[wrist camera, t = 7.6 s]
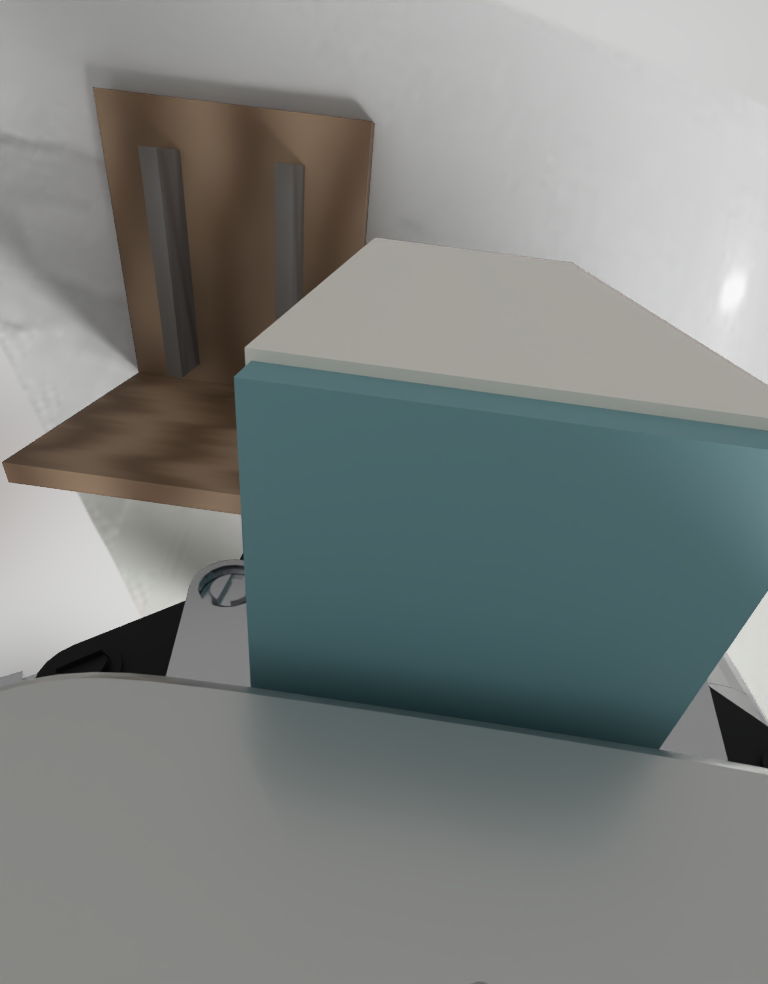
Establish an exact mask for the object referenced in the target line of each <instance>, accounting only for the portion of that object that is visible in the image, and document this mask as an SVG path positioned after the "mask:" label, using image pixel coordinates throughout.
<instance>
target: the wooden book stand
mask: <svg viewBox="0 0 768 984" xmlns="http://www.w3.org/2000/svg"><path fill="white" fill-rule="evenodd" d="M93 91H94V97H95V103H96V109H97V115H98V122H99V128H100V134H101V140H102V147H103V153H104V159H105V165H106V171H107V178H108V184H109V190H110V196H111V202H112V209H113V215H114V221H115V227H116V234H117V240H118V246H119V252H120V258H121V265H122V271H123V277H124V283H125V290H126V296H127V302H128V308H129V314H130V321H131V327H132V333H133V339H134V346H135V352H136V358H137V364H138V370H139V373H137V374H136V375H134V376H133V377H131V378H130V379H128V380H127V381H125V382H124V383H122V384H121V385H119V386H118V387H116V388H114V389H113V390H111V391H110V392H108V393H107V394H105V395H104V396H102V397H101V398H99V399H98V400H96V401H95V402H93V403H92V404H90V405H89V406H87V407H85V408H84V409H82V410H81V411H79V412H78V413H76V414H75V415H73V416H72V417H70V418H69V419H67V420H66V421H64V422H63V423H61V424H60V425H58V426H56V427H55V428H53V429H52V430H50V431H49V432H47V433H46V434H44V435H43V436H42V437H40V438H38V439H37V440H35V441H34V442H32V443H31V444H29V445H28V446H26V447H25V448H23V449H22V450H20V451H18V452H17V453H15V454H14V455H12V456H11V457H9V458H8V459H6V460H5V461H3V462H2V464H3V467H4V470H5V473H6V475H7V478H8V481H9V482H12V483H19V484H26V485H33V486H40V487H47V488H54V489H61V490H69V491H76V492H83V493H90V494H97V495H104V496H111V497H119V498H126V499H133V500H140V501H147V502H154V503H161V504H169V505H176V506H183V507H190V508H197V509H204V510H211V511H219V512H226V513H233V514H240V515H241V500H240V481H239V463H238V445H237V426H236V408H235V390H234V376H235V375H236V374H238V373H239V372H240V371H241V370H242V369H243V368H244V367H245V347H246V346H247V345H248V344H249V343H250V342H252V341H253V340H254V339H255V338H256V337H258V336H259V335H260V334H261V333H262V332H263V331H265V330H266V329H267V328H268V327H269V326H271V325H272V324H273V323H274V322H275V321H276V320H278V319H279V318H280V317H281V316H282V315H284V314H285V313H286V312H287V311H288V310H290V309H291V308H292V307H293V306H294V305H295V304H297V303H298V302H299V301H300V300H301V299H303V298H304V297H305V296H306V295H307V294H309V293H310V292H311V291H312V290H313V289H314V288H316V287H317V286H318V285H319V284H320V283H322V282H323V281H324V280H325V279H326V278H327V277H329V276H330V275H331V274H332V273H333V272H335V271H336V270H337V269H338V268H339V267H341V266H342V265H343V264H344V263H345V262H346V261H348V260H349V259H350V258H351V257H352V256H354V255H355V254H356V253H357V252H358V251H360V250H361V249H362V248H363V247H364V246H365V243H366V230H367V216H368V203H369V190H370V177H371V164H372V151H373V138H374V125H375V123H373V122H372V121H366V120H358V119H349V118H341V117H333V116H325V115H317V114H308V113H300V112H292V111H284V110H276V109H267V108H259V107H251V106H243V105H235V104H226V103H218V102H210V101H202V100H194V99H185V98H177V97H169V96H161V95H153V94H144V93H136V92H128V91H120V90H112V89H103V88H95V87H93Z"/></svg>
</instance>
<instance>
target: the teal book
mask: <svg viewBox="0 0 768 984" xmlns="http://www.w3.org/2000/svg"><path fill="white" fill-rule="evenodd" d="M234 390H235V408H236V426H237V445H238V463H239V481H240V500H241V518H242V536H243V555H244V573H245V591H246V610H247V628H248V646H249V665H250V683H251V687H253V688H260V689H267V690H274V691H281V692H287V693H294V694H301V695H308V696H315V697H321V698H328V699H335V700H342V701H349V702H355V703H362V704H369V705H376V706H383V707H389V708H396V709H402V710H409V711H415V712H422V713H429V714H435V715H442V716H448V717H455V718H462V719H468V720H475V721H481V722H488V723H494V724H501V725H507V726H514V727H520V728H527V729H533V730H540V731H546V732H552V733H559V734H565V735H571V736H578V737H584V738H590V739H597V740H603V741H609V742H616V743H622V744H628V745H634V746H641V747H647V748H653V749H660V747H661V746H662V744H663V743H664V741H665V740H666V739H667V737H668V736H669V734H670V733H671V731H672V730H673V728H674V727H675V725H676V724H677V722H678V721H679V720H680V718H681V717H682V715H683V714H684V712H685V711H686V709H687V708H688V706H689V705H690V703H691V702H692V701H693V699H694V698H695V696H696V695H697V693H698V692H699V690H700V689H701V687H702V686H703V684H704V683H705V682H706V680H707V679H708V677H709V676H710V674H711V673H712V671H713V670H714V668H715V667H716V666H717V664H718V663H719V661H720V660H721V658H722V657H723V655H724V654H725V652H726V651H727V649H728V648H729V647H730V645H731V644H732V642H733V641H734V639H735V638H736V636H737V635H738V633H739V632H740V630H741V629H742V628H743V626H744V625H745V623H746V622H747V620H748V619H749V617H750V616H751V614H752V613H753V611H754V610H755V609H756V607H757V606H758V604H759V603H760V601H761V600H762V598H763V597H764V595H765V594H766V592H767V591H768V385H767V384H765V383H763V382H762V381H760V380H759V379H757V378H755V377H754V376H752V375H751V374H749V373H748V372H746V371H744V370H743V369H741V368H740V367H738V366H736V365H735V364H733V363H732V362H730V361H728V360H727V359H725V358H724V357H722V356H720V355H719V354H717V353H716V352H714V351H712V350H711V349H709V348H708V347H706V346H704V345H703V344H701V343H700V342H698V341H697V340H695V339H693V338H692V337H690V336H689V335H687V334H685V333H684V332H682V331H681V330H679V329H677V328H676V327H674V326H673V325H671V324H669V323H668V322H666V321H665V320H663V319H661V318H660V317H658V316H657V315H655V314H653V313H652V312H650V311H649V310H647V309H646V308H644V307H642V306H641V305H639V304H638V303H636V302H634V301H633V300H631V299H630V298H628V297H626V296H625V295H623V294H622V293H620V292H618V291H617V290H615V289H614V288H612V287H610V286H609V285H607V284H606V283H604V282H602V281H601V280H599V279H598V278H596V277H595V276H593V275H591V274H590V273H588V272H587V271H585V270H583V269H582V268H580V267H579V266H577V265H575V264H574V263H572V262H564V261H556V260H548V259H540V258H533V257H525V256H517V255H509V254H501V253H493V252H486V251H478V250H470V249H462V248H454V247H446V246H439V245H431V244H423V243H415V242H407V241H399V240H392V239H384V238H376V237H375V238H374V239H373V240H371V241H370V242H369V243H368V244H367V245H365V246H364V247H363V248H362V249H361V250H360V251H358V252H357V253H356V254H355V255H354V256H352V257H351V258H350V259H349V260H348V261H346V262H345V263H344V264H343V265H342V266H341V267H339V268H338V269H337V270H336V271H335V272H333V273H332V274H331V275H330V276H329V277H327V278H326V279H325V280H324V281H323V282H322V283H320V284H319V285H318V286H317V287H316V288H314V289H313V290H312V291H311V292H310V293H309V294H307V295H306V296H305V297H304V298H303V299H301V300H300V301H299V302H298V303H297V304H295V305H294V306H293V307H292V308H291V309H290V310H288V311H287V312H286V313H285V314H284V315H282V316H281V317H280V318H279V319H278V320H276V321H275V322H274V323H273V324H272V325H271V326H269V327H268V328H267V329H266V330H265V331H263V332H262V333H261V334H260V335H259V336H258V337H256V338H255V339H254V340H253V341H252V342H250V343H249V344H248V345H247V346H246V347H245V367H244V368H243V369H242V370H241V371H240V372H239V373H238V374H236V375H235V376H234Z"/></svg>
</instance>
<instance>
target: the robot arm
mask: <svg viewBox="0 0 768 984" xmlns="http://www.w3.org/2000/svg"><path fill="white" fill-rule="evenodd" d="M0 984H768V719H767V717H766V716H765V714H764V712H763V711H762V709H761V708H760V706H759V705H758V703H757V701H756V700H755V698H754V696H753V695H752V693H751V692H750V690H749V688H748V687H747V685H746V683H745V682H744V680H743V678H742V677H741V675H740V673H739V672H738V670H737V668H736V667H735V665H734V663H733V662H732V660H731V658H730V657H729V655H728V653H727V652H725V654H724V655H723V657H722V658H721V660H720V661H719V663H718V664H717V666H716V667H715V668H714V670H713V671H712V673H711V674H710V676H709V677H708V679H707V680H706V682H705V683H704V684H703V686H702V687H701V689H700V690H699V692H698V693H697V695H696V696H695V698H694V699H693V701H692V702H691V703H690V705H689V706H688V708H687V709H686V711H685V712H684V714H683V715H682V717H681V718H680V720H679V721H678V722H677V724H676V725H675V727H674V728H673V730H672V731H671V733H670V734H669V736H668V737H667V739H666V740H665V741H664V743H663V744H662V746H661V747H660V749H653V748H647V747H641V746H634V745H628V744H622V743H616V742H609V741H603V740H597V739H590V738H584V737H578V736H571V735H565V734H559V733H552V732H546V731H540V730H533V729H527V728H520V727H514V726H507V725H501V724H494V723H488V722H481V721H475V720H468V719H462V718H455V717H448V716H442V715H435V714H429V713H422V712H415V711H409V710H402V709H396V708H389V707H383V706H376V705H369V704H362V703H355V702H349V701H342V700H335V699H328V698H321V697H315V696H308V695H301V694H294V693H287V692H281V691H274V690H267V689H260V688H253V687H251V683H250V665H249V646H248V628H247V610H246V591H245V573H244V555H243V554H242V556H241V558H240V560H235V559H234V560H225V561H220V562H217V563H214V564H211V565H209V566H207V567H206V568H204V569H202V570H201V571H200V572H199V573H198V574H197V575H196V576H195V577H194V578H193V580H192V582H191V584H190V586H189V590H188V594H187V597H186V601H184V602H181V603H179V604H176V605H174V606H171V607H168V608H166V609H163V610H161V611H158V612H156V613H153V614H151V615H148V616H146V617H143V618H141V619H138V620H136V621H133V622H131V623H128V624H126V625H123V626H121V627H118V628H116V629H113V630H110V631H108V632H105V633H103V634H100V635H98V636H95V637H93V638H90V639H88V640H85V641H83V642H80V643H78V644H75V645H73V646H71V647H69V648H67V649H66V650H63V651H61V652H59V653H58V654H56V655H55V656H54V657H53V658H51V659H50V660H49V661H47V663H46V664H45V665H44V666H43V667H42V669H41V670H40V671H39V672H38V673H37V674H35V675H32V676H29V677H25V676H24V674H23V672H22V671H21V672H18V673H14V674H11V675H8V676H4V677H1V678H0Z"/></svg>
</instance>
